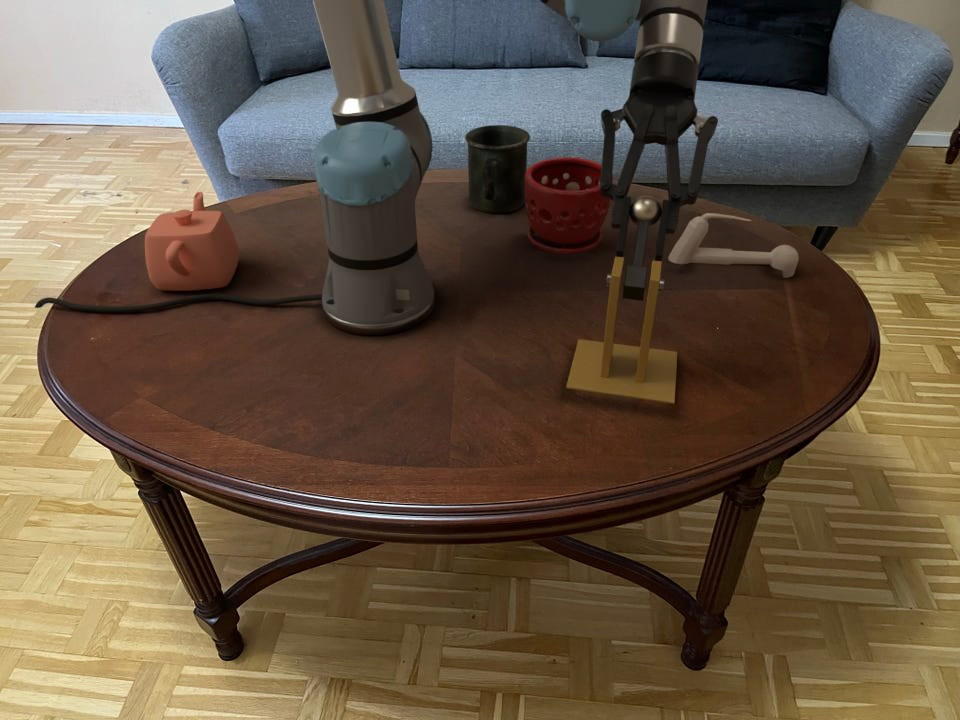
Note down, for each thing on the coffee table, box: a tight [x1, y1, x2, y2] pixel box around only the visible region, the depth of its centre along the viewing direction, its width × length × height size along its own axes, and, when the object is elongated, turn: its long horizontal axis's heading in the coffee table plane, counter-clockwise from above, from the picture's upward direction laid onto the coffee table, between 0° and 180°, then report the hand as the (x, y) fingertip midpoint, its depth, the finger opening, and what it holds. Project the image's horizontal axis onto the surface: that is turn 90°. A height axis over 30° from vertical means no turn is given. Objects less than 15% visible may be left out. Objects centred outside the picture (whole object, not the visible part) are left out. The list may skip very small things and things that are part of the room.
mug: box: [464, 124, 531, 214], centre depth 122 cm, size 11×15×12 cm
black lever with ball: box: [622, 195, 662, 302], centre depth 79 cm, size 13×4×4 cm, turn 166°
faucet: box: [667, 212, 800, 279], centre depth 104 cm, size 4×18×10 cm, turn 82°
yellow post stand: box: [565, 256, 678, 405], centre depth 80 cm, size 10×12×15 cm
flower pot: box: [524, 156, 614, 255], centre depth 109 cm, size 13×13×12 cm
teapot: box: [144, 191, 240, 292], centre depth 103 cm, size 12×18×10 cm, turn 4°
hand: (639, 256), depth 81 cm, fingers closed on black lever with ball, 4 cm apart
